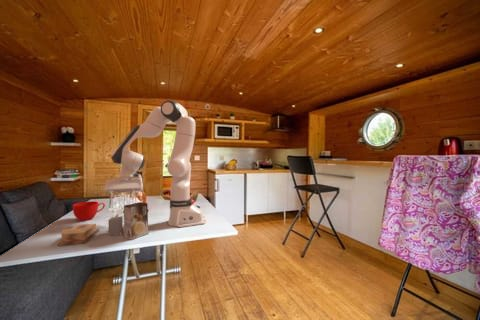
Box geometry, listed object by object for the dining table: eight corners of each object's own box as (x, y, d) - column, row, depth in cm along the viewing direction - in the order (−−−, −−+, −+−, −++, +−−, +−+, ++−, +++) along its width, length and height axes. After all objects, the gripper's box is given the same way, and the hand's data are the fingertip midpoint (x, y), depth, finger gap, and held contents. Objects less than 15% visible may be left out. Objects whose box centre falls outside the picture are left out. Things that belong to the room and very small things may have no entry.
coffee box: (141, 231, 111) (140, 201, 111) (148, 234, 108) (148, 203, 107) (123, 237, 103) (123, 205, 103) (131, 240, 100) (130, 207, 99)
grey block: (122, 231, 111) (122, 216, 111) (119, 234, 107) (119, 219, 106) (112, 232, 110) (111, 217, 110) (108, 235, 105) (108, 220, 105)
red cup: (108, 217, 136) (108, 202, 135) (76, 224, 123) (75, 207, 122) (101, 213, 144) (101, 199, 144) (70, 219, 131) (70, 204, 131)
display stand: (99, 231, 112) (99, 219, 112) (85, 243, 96) (85, 229, 96) (75, 233, 109) (75, 220, 109) (57, 246, 94) (57, 231, 93)
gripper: (105, 175, 124) (99, 195, 114) (143, 174, 129) (140, 193, 120) (108, 182, 128) (102, 201, 119) (144, 181, 133) (142, 199, 124)
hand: (122, 197), depth 119 cm, fingers open, 8 cm apart
